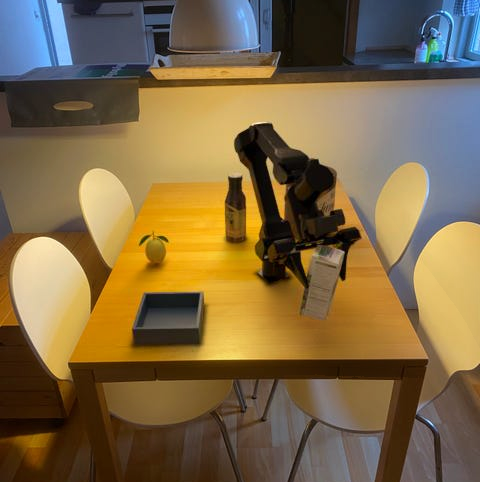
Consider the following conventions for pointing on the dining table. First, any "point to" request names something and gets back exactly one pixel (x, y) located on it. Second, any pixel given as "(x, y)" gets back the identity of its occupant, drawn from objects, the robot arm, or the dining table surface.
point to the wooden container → (323, 204)
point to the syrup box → (321, 282)
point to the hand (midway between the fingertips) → (325, 284)
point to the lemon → (155, 248)
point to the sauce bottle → (235, 209)
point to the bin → (169, 318)
